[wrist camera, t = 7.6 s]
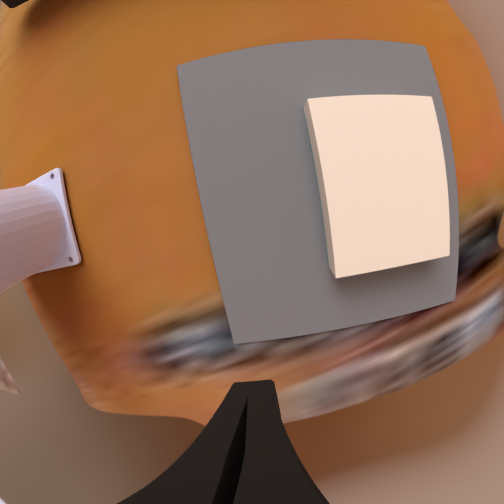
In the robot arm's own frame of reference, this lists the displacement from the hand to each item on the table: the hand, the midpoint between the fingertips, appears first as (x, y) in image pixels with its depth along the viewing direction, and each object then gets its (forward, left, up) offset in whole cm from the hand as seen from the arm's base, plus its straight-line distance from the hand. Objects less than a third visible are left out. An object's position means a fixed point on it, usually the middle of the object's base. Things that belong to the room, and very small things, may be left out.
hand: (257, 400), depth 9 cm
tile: (+4, +6, -9) cm, 11 cm away
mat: (+6, +6, -10) cm, 13 cm away
